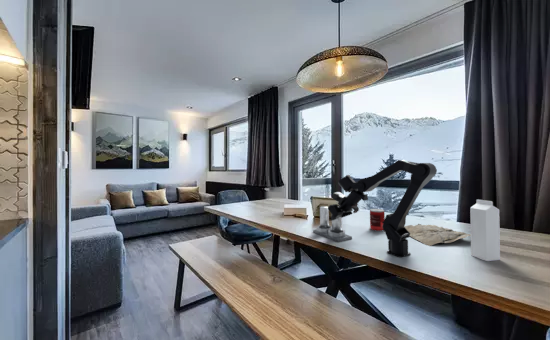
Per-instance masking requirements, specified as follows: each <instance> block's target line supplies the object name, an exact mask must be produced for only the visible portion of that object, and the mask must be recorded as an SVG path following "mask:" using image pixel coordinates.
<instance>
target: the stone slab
mask: <svg viewBox="0 0 550 340" xmlns="http://www.w3.org/2000/svg"><path fill="white" fill-rule="evenodd" d="M404 227H405V228H406V229H407V230H408V231H409V233H410V235H409V237H411V238H412V239H414V240H417V241H419V243H422V244H424V245H425V246H429V247H431V246H434V245H436V244H439V243H442V244H443V243H444V244H450V243H453V242H455V241H457V240H459V239H465V238H467V237H471V233H470V234H469V233H466V232H464V231H456V230H453V229H451V228H448V227H443V226H438V225H435V224H432V225H431V224H422V223H421V224H420V223H418V224H415V225H412V224H409V225H405V226H404Z"/></svg>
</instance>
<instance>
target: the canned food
mask: <svg viewBox="0 0 550 340" xmlns="http://www.w3.org/2000/svg"><path fill="white" fill-rule="evenodd" d="M385 214H386V213H385V209H382V208H370V209H369V224H370V225H369V227H370V230H372V231H375V230H376V232H380V231H381V232H383V231H384V230H383V228H382V226H383V224H384V223H382V222H383V221H384V220H385V217H386V215H385ZM382 230H383V231H382Z"/></svg>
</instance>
